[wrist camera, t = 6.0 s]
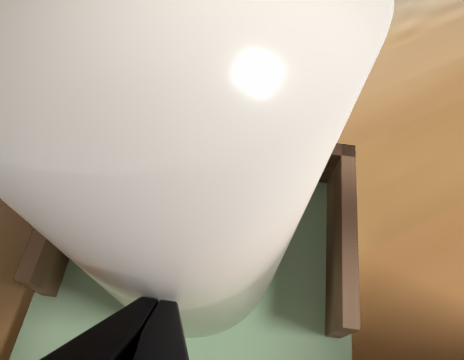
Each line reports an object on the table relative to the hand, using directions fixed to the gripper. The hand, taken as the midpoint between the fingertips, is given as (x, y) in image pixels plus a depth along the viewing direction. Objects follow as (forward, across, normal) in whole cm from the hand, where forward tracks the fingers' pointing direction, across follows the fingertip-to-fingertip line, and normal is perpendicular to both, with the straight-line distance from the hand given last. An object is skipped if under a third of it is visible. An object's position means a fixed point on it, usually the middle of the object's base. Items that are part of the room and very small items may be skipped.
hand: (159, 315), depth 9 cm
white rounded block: (+8, 0, +2) cm, 8 cm away
